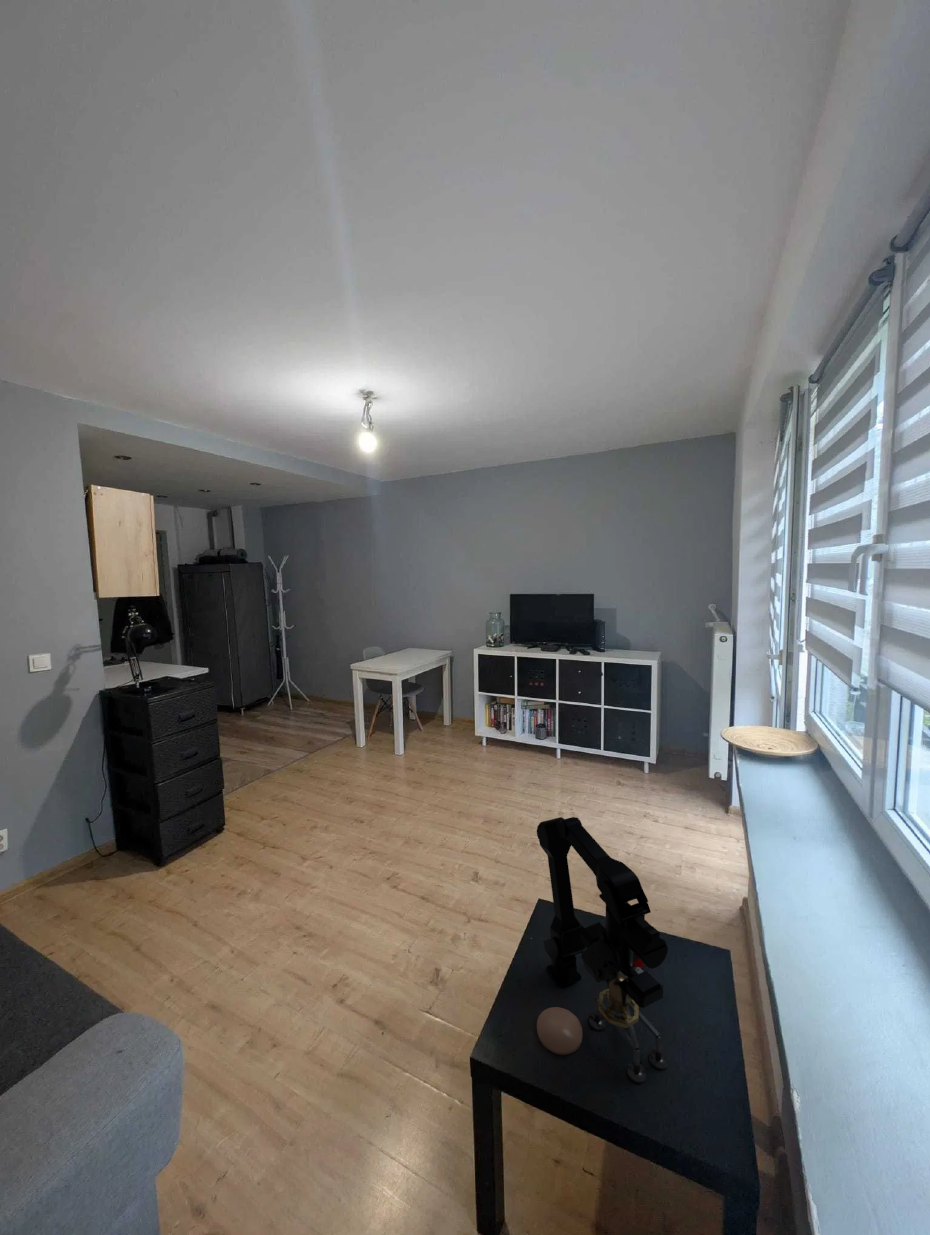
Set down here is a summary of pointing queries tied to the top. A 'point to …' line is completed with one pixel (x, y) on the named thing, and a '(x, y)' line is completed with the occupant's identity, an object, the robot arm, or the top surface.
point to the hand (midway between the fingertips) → (618, 997)
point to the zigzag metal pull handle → (634, 1043)
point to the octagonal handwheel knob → (617, 1004)
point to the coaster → (559, 1030)
